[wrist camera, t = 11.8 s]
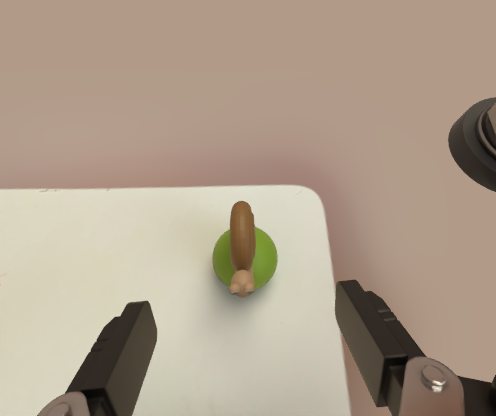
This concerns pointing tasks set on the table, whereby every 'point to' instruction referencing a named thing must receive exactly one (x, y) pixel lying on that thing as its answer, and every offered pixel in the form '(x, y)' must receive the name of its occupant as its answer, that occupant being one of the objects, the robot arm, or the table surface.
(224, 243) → the snail figurine
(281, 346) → the table surface
